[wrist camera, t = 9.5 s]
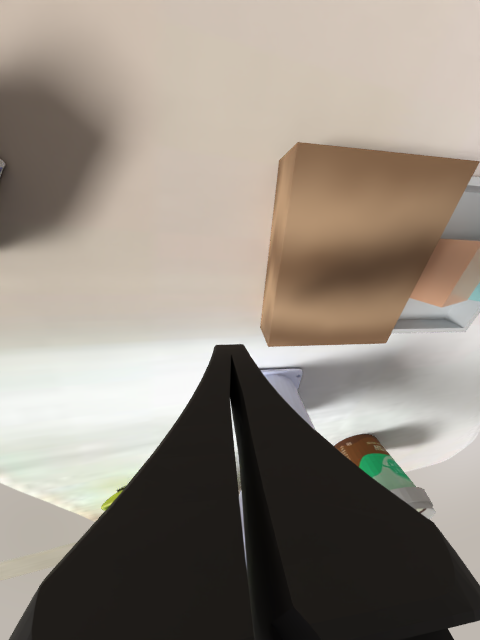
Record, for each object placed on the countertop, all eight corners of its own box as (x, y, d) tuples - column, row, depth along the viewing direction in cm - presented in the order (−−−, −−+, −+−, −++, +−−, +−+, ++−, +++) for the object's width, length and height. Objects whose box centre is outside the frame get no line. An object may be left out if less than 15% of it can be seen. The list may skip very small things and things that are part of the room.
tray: (440, 320, 22) (465, 331, 20) (367, 321, 21) (384, 333, 19) (524, 190, 16) (573, 185, 14) (426, 182, 15) (462, 175, 13)
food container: (396, 434, 35) (457, 507, 26) (374, 452, 37) (423, 523, 28) (347, 426, 31) (398, 505, 22) (327, 445, 34) (365, 524, 25)
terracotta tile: (433, 291, 19) (467, 300, 17) (406, 297, 17) (441, 307, 15) (463, 238, 17) (507, 241, 15) (436, 238, 15) (482, 241, 13)
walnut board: (361, 325, 21) (385, 343, 18) (260, 327, 20) (268, 346, 17) (424, 173, 15) (479, 161, 12) (279, 160, 13) (297, 142, 10)
